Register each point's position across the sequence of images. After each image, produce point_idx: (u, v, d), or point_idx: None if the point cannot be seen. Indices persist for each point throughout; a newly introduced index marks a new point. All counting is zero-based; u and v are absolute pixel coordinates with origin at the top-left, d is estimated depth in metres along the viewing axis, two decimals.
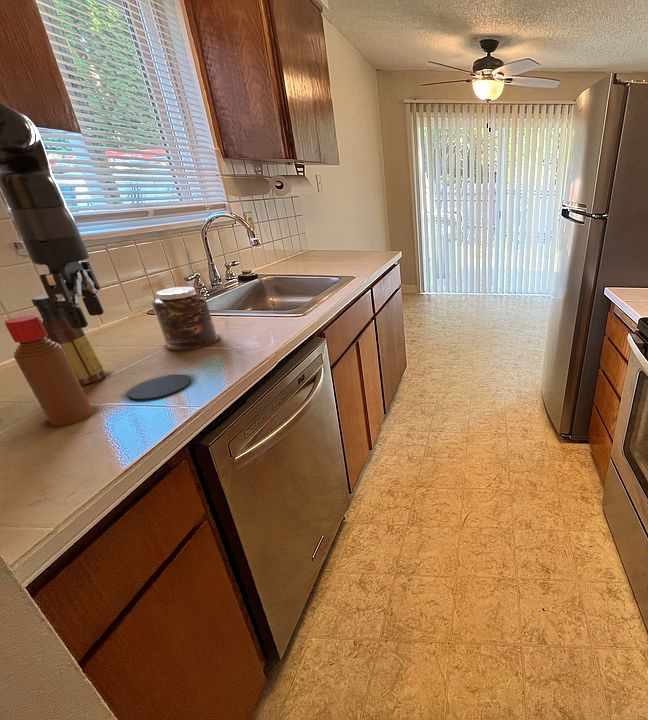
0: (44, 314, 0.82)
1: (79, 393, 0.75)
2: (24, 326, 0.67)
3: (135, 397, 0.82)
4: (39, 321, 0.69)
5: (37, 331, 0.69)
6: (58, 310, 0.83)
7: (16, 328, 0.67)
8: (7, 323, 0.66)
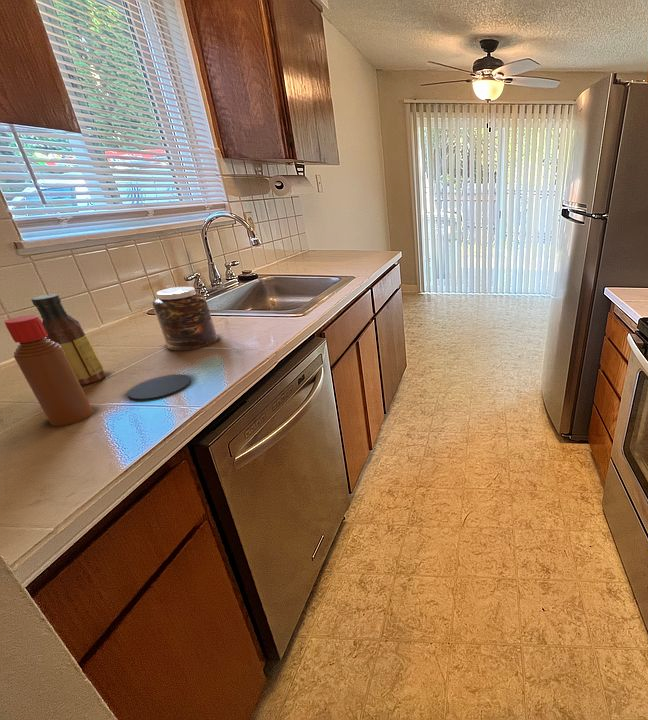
0: (44, 314, 0.82)
1: (79, 393, 0.75)
2: (24, 326, 0.67)
3: (135, 397, 0.82)
4: (39, 321, 0.69)
5: (37, 331, 0.69)
6: (58, 310, 0.83)
7: (16, 328, 0.67)
8: (7, 323, 0.66)
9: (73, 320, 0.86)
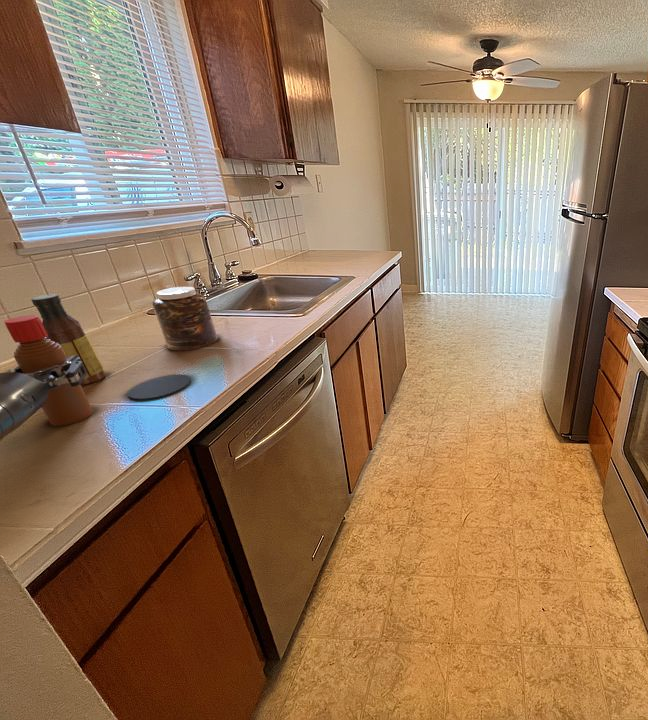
0: (44, 314, 0.82)
1: (79, 393, 0.75)
2: (24, 326, 0.67)
3: (135, 397, 0.82)
4: (39, 321, 0.69)
5: (37, 331, 0.69)
6: (58, 310, 0.83)
7: (16, 328, 0.67)
8: (7, 323, 0.66)
9: (73, 320, 0.86)
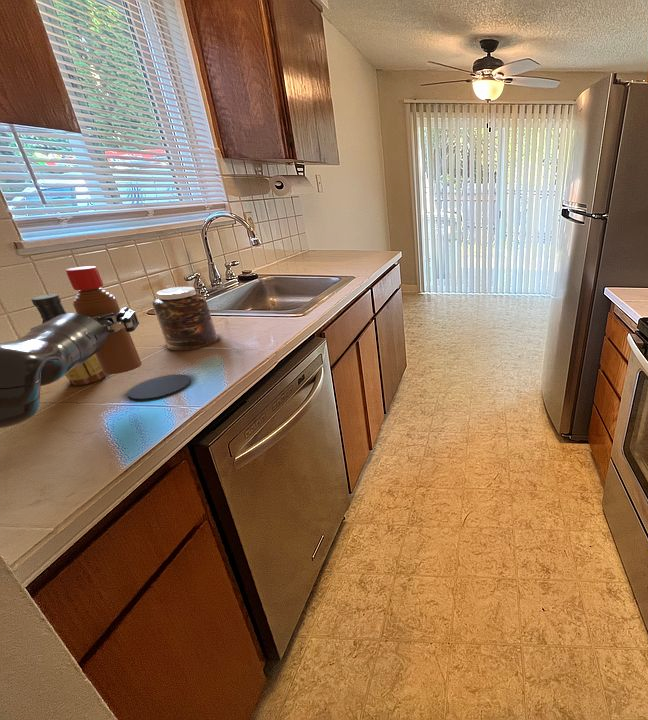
0: (44, 314, 0.82)
1: (130, 343, 0.79)
2: (84, 274, 0.71)
3: (135, 397, 0.82)
4: (96, 271, 0.73)
5: (95, 280, 0.73)
6: (58, 310, 0.83)
7: (76, 276, 0.71)
8: (68, 271, 0.71)
9: None
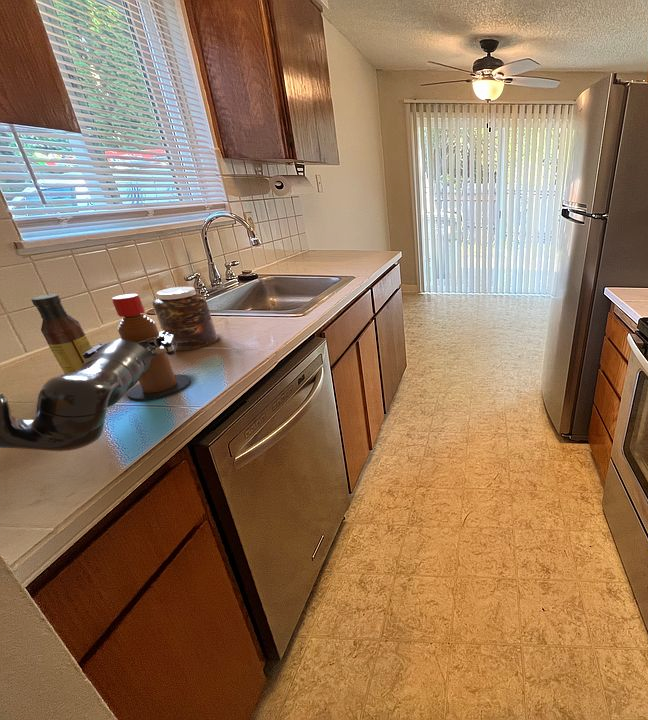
0: (44, 314, 0.82)
1: (168, 364, 0.85)
2: (128, 302, 0.77)
3: (135, 397, 0.82)
4: (139, 299, 0.79)
5: (138, 307, 0.79)
6: (58, 310, 0.83)
7: (122, 304, 0.77)
8: (115, 299, 0.77)
9: (73, 320, 0.86)
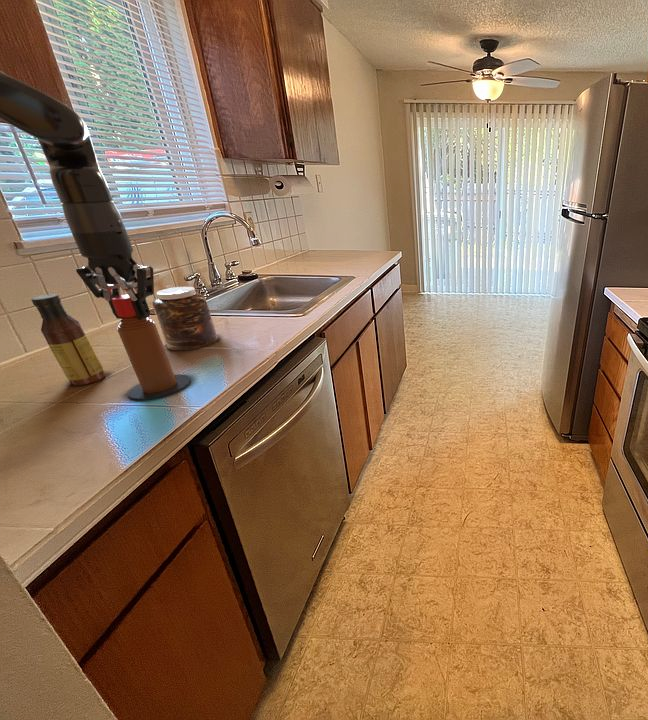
0: (44, 314, 0.82)
1: (168, 364, 0.85)
2: (128, 303, 0.77)
3: (135, 397, 0.82)
4: None
5: None
6: (58, 310, 0.83)
7: (121, 304, 0.77)
8: (114, 300, 0.76)
9: (73, 320, 0.86)
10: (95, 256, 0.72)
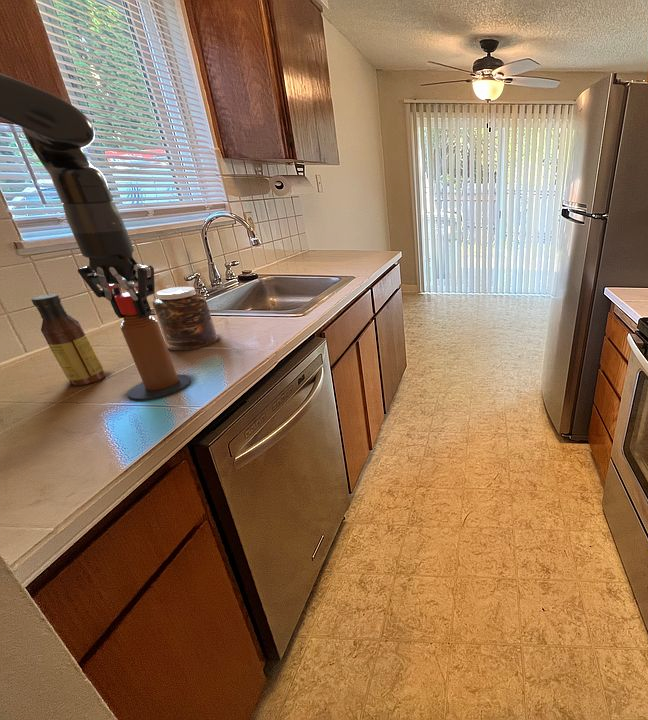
0: (44, 314, 0.82)
1: (171, 360, 0.87)
2: None
3: (135, 397, 0.82)
4: None
5: None
6: (58, 310, 0.83)
7: None
8: (137, 292, 0.81)
9: (73, 320, 0.86)
10: None
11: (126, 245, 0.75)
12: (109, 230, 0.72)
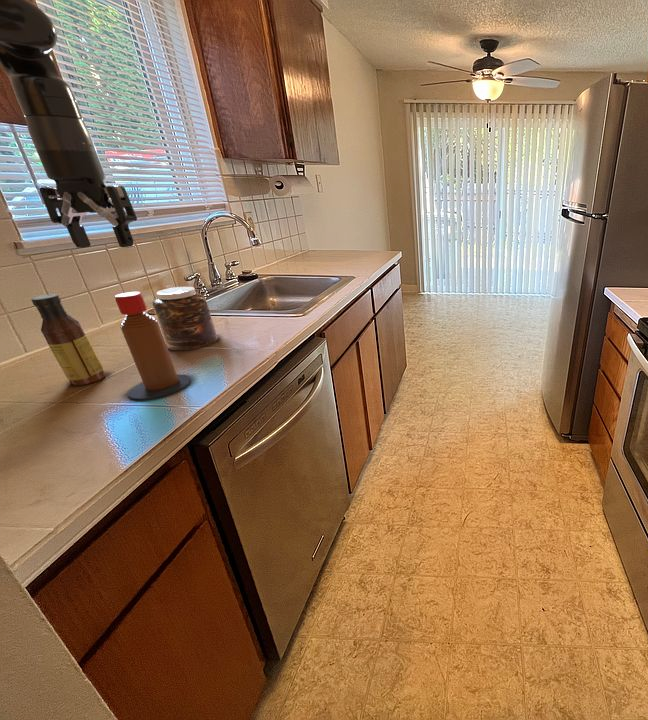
0: (44, 314, 0.82)
1: (171, 360, 0.87)
2: None
3: (135, 397, 0.82)
4: (116, 299, 0.79)
5: None
6: (58, 310, 0.83)
7: None
8: None
9: (73, 320, 0.86)
10: None
11: (96, 169, 0.69)
12: (77, 149, 0.66)
